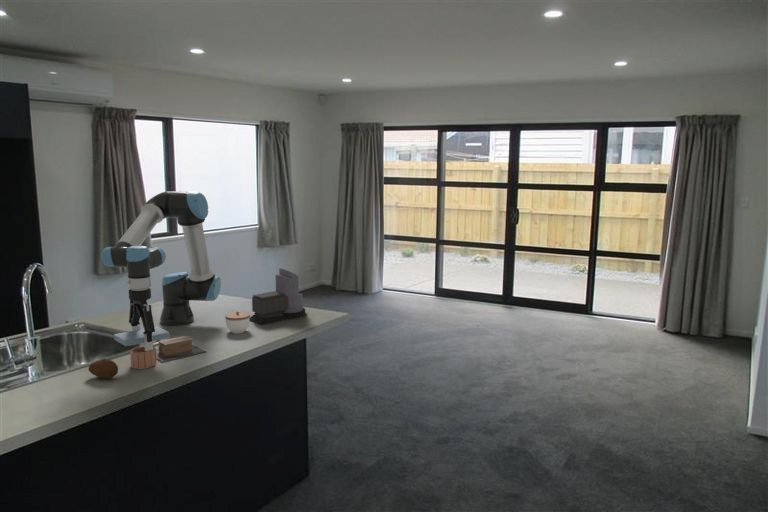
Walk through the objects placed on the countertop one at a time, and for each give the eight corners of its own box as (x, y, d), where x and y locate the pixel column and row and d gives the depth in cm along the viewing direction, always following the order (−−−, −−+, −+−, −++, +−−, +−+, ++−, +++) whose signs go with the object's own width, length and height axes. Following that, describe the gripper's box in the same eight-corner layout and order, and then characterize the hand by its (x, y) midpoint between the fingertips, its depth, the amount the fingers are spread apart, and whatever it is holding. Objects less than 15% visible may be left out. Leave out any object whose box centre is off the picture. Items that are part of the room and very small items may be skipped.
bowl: (127, 364, 213) (126, 349, 212) (150, 359, 219) (149, 344, 218) (136, 370, 207) (135, 354, 206) (159, 365, 213) (159, 349, 212)
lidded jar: (243, 335, 250) (243, 315, 249) (221, 334, 252) (220, 313, 251) (254, 329, 260) (253, 309, 259) (232, 327, 262) (232, 307, 261)
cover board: (114, 339, 209) (114, 334, 209) (157, 331, 220) (157, 326, 220) (125, 346, 201) (125, 341, 201) (169, 337, 212) (169, 332, 212)
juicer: (294, 309, 297) (293, 263, 293) (313, 315, 286) (313, 267, 283) (244, 319, 276) (243, 270, 272) (263, 326, 265) (262, 275, 261)
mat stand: (145, 352, 227) (144, 340, 226) (188, 342, 239) (187, 331, 238) (161, 362, 215) (161, 349, 215) (206, 352, 228) (205, 340, 227)
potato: (97, 372, 204) (96, 354, 203) (125, 376, 201) (124, 357, 200) (84, 379, 197) (82, 360, 196) (112, 383, 195) (111, 363, 194)
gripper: (117, 284, 214) (120, 341, 217) (141, 295, 197) (144, 356, 200) (137, 282, 219) (140, 337, 222) (163, 292, 202) (165, 351, 206)
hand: (142, 346), depth 211 cm, fingers closed on cover board, 11 cm apart
